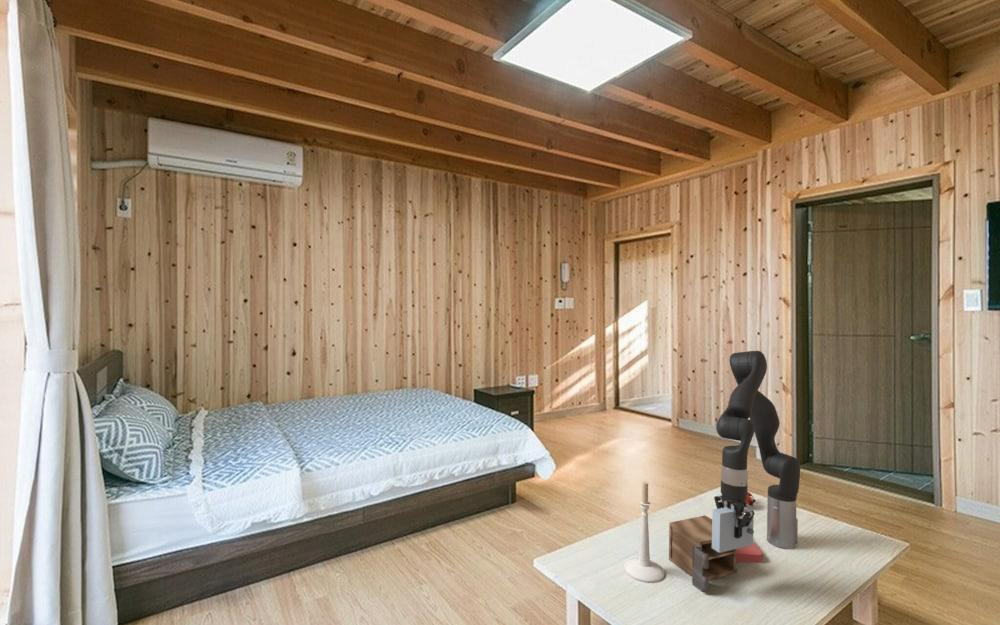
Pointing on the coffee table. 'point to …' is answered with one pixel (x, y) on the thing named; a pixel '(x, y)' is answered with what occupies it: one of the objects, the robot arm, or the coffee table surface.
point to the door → (729, 531)
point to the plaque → (749, 554)
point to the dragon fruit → (749, 499)
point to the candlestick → (644, 550)
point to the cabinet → (698, 551)
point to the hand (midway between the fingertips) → (732, 534)
